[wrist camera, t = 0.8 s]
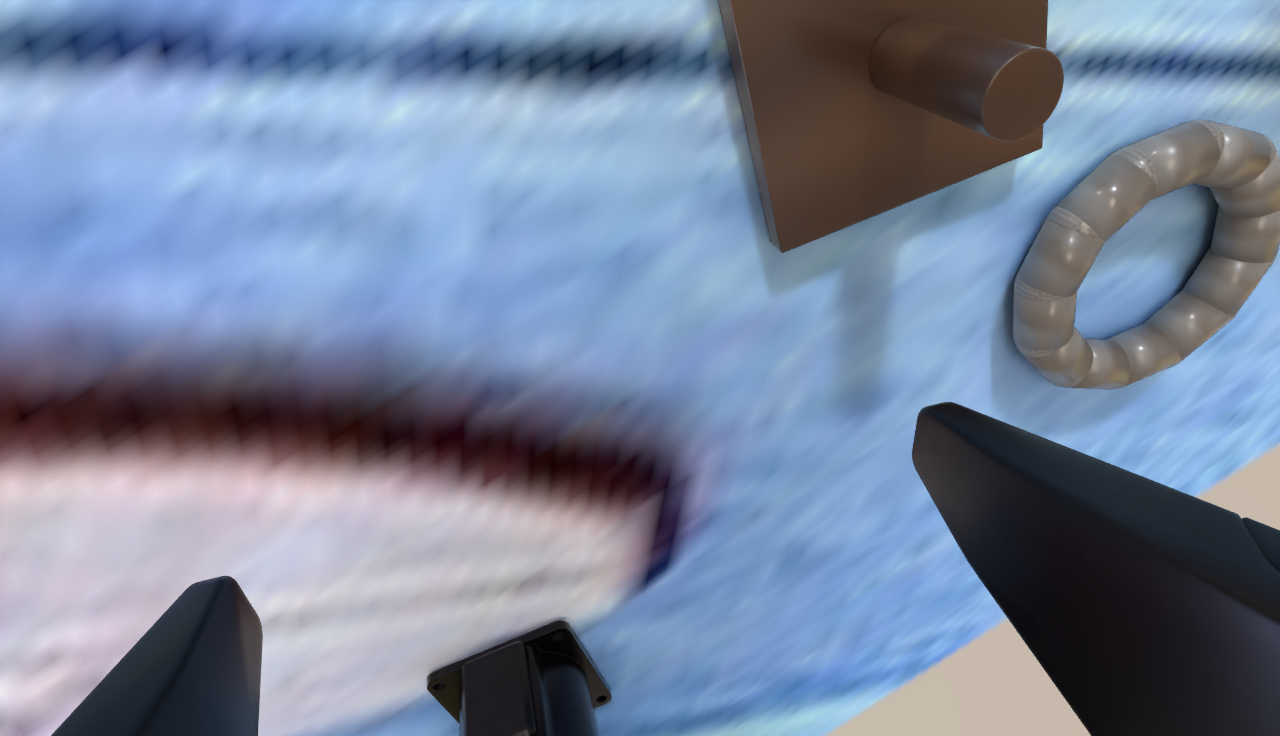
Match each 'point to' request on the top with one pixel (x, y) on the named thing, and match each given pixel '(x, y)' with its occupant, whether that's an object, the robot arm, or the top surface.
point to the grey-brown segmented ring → (1107, 199)
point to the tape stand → (883, 100)
